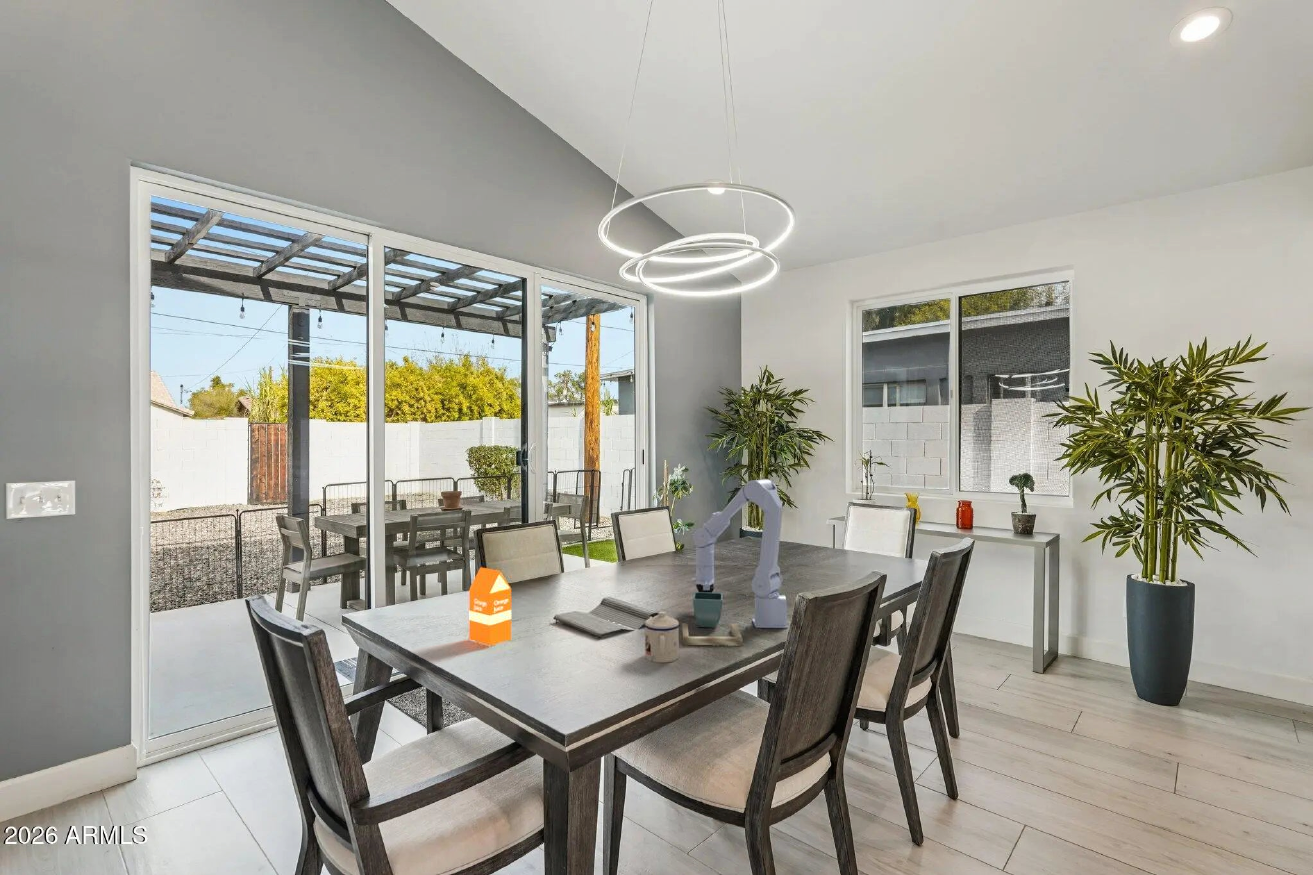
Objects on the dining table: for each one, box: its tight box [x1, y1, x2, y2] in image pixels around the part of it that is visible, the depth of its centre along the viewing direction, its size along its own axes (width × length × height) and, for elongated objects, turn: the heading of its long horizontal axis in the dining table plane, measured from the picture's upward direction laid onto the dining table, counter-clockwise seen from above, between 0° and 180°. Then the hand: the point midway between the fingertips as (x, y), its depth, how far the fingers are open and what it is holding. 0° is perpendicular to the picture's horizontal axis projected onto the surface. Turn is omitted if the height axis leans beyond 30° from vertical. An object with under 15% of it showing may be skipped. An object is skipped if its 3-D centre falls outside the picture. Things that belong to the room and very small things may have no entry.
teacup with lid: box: [643, 611, 680, 664], centre depth 159 cm, size 12×9×12 cm
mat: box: [553, 596, 658, 640], centre depth 190 cm, size 23×24×5 cm
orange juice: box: [468, 567, 512, 645], centre depth 173 cm, size 8×9×20 cm
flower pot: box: [692, 591, 724, 629], centre depth 188 cm, size 9×9×9 cm
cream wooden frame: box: [681, 623, 743, 647], centre depth 176 cm, size 16×14×2 cm
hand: (704, 607), depth 201 cm, fingers closed
